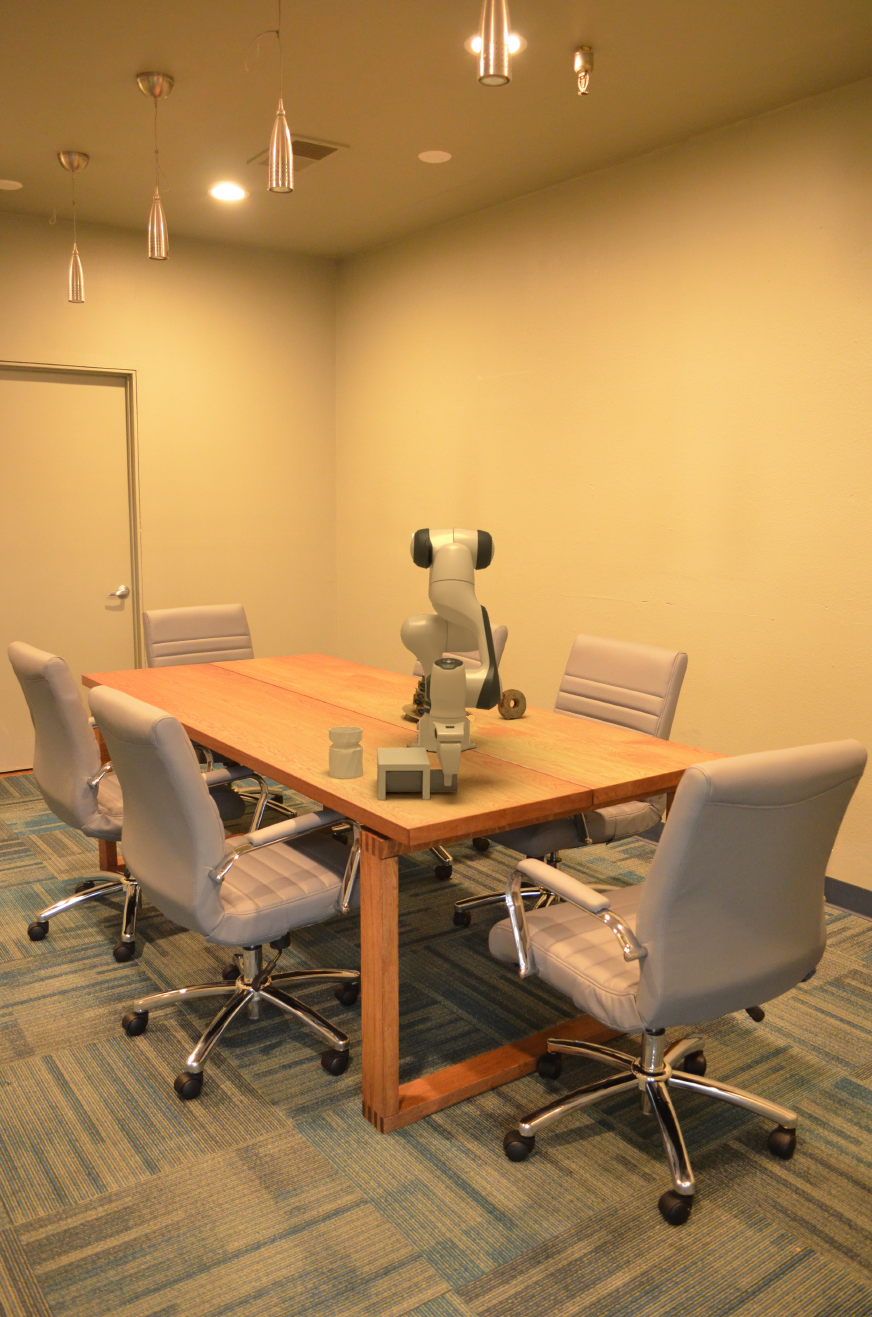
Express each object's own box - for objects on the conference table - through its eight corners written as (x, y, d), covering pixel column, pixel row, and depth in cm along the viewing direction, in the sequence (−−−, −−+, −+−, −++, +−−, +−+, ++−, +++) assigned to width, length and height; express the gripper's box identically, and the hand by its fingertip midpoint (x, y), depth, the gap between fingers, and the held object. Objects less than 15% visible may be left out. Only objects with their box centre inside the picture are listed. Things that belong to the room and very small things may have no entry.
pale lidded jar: (366, 777, 252) (366, 731, 250) (333, 780, 249) (333, 733, 247) (357, 770, 260) (357, 725, 259) (325, 772, 257) (325, 726, 256)
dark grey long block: (381, 785, 242) (381, 765, 241) (454, 784, 243) (455, 764, 243) (382, 792, 236) (382, 771, 235) (457, 791, 237) (457, 771, 236)
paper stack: (489, 718, 336) (490, 669, 334) (445, 728, 316) (446, 677, 314) (432, 709, 351) (433, 663, 349) (387, 719, 331) (387, 670, 329)
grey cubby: (377, 780, 249) (377, 747, 248) (424, 780, 250) (425, 747, 249) (378, 800, 231) (378, 764, 230) (429, 799, 232) (430, 764, 231)
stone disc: (501, 720, 331) (502, 691, 330) (496, 718, 334) (496, 689, 333) (528, 718, 335) (528, 689, 334) (522, 716, 339) (523, 687, 338)
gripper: (431, 718, 246) (430, 772, 248) (437, 735, 226) (436, 794, 227) (456, 718, 246) (455, 772, 248) (465, 735, 226) (464, 794, 228)
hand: (446, 783), depth 238 cm, fingers closed on dark grey long block
